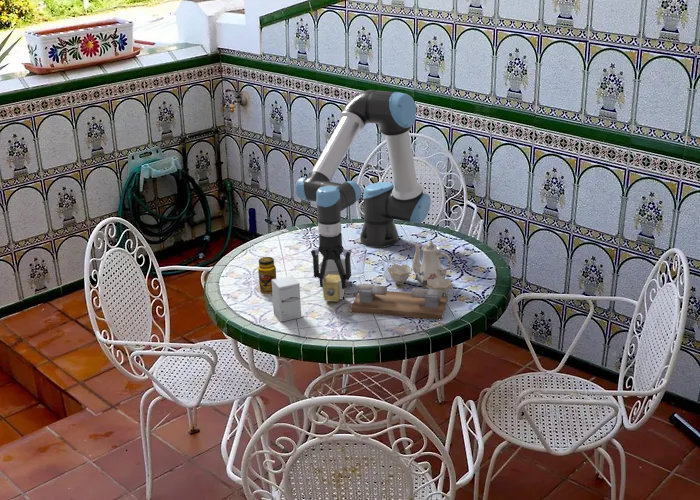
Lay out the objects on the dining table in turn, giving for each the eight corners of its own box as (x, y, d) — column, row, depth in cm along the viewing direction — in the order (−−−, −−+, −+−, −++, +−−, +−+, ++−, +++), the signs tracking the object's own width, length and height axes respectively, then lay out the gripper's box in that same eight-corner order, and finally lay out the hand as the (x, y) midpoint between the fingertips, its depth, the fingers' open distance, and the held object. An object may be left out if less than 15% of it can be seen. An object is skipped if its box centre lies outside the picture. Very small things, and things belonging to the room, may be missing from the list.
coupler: (323, 301, 283) (322, 282, 280) (329, 291, 290) (328, 273, 287) (338, 302, 282) (337, 283, 279) (343, 292, 289) (342, 274, 286)
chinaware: (380, 288, 298) (376, 247, 290) (406, 268, 309) (403, 227, 302) (448, 308, 282) (445, 265, 274) (473, 286, 293) (471, 243, 286)
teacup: (346, 291, 293) (346, 270, 290) (316, 289, 295) (315, 268, 292) (354, 274, 305) (353, 254, 302) (325, 273, 307) (324, 253, 304)
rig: (360, 294, 290) (360, 275, 288) (447, 301, 283) (447, 282, 281) (350, 312, 278) (350, 293, 275) (441, 320, 271) (441, 300, 268)
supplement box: (280, 322, 273) (278, 287, 268) (273, 313, 279) (270, 278, 274) (302, 318, 275) (299, 283, 271) (294, 308, 282) (292, 274, 277)
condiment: (262, 296, 291) (259, 264, 287) (254, 287, 299) (251, 256, 294) (282, 292, 294) (280, 260, 290) (273, 282, 301) (271, 252, 297)
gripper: (300, 235, 275) (305, 299, 285) (354, 238, 271) (356, 303, 280) (307, 227, 282) (311, 289, 291) (359, 230, 278) (362, 293, 287)
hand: (333, 296), depth 286 cm, fingers closed on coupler, 5 cm apart
